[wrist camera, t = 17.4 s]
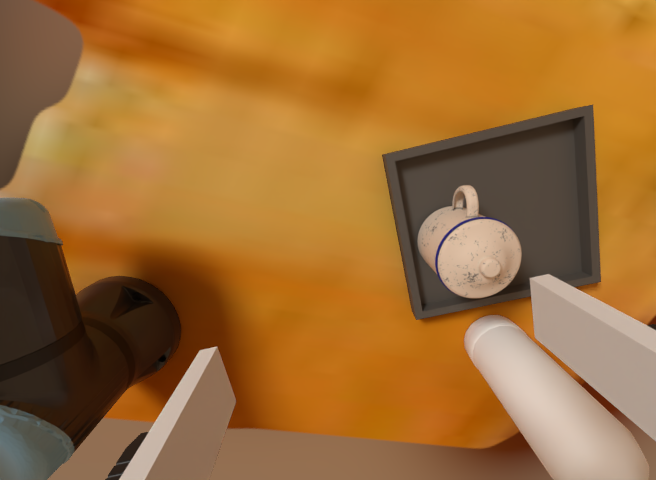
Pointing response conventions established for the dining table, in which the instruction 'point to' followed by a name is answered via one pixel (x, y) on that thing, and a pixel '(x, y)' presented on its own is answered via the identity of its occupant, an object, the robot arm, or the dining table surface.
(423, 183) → the serving tray
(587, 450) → the bottle
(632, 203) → the dining table surface
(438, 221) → the teacup with lid
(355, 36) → the dining table surface
